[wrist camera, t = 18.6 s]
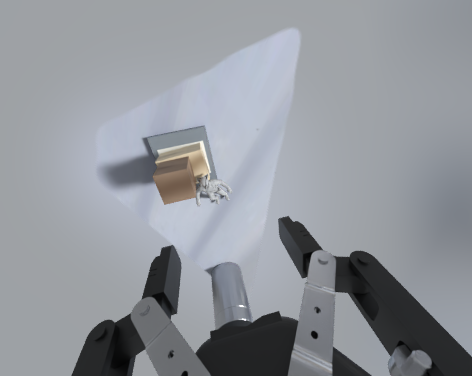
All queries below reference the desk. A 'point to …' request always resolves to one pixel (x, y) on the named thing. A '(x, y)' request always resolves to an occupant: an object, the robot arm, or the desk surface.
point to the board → (183, 144)
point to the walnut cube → (175, 180)
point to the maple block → (194, 156)
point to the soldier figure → (211, 188)
